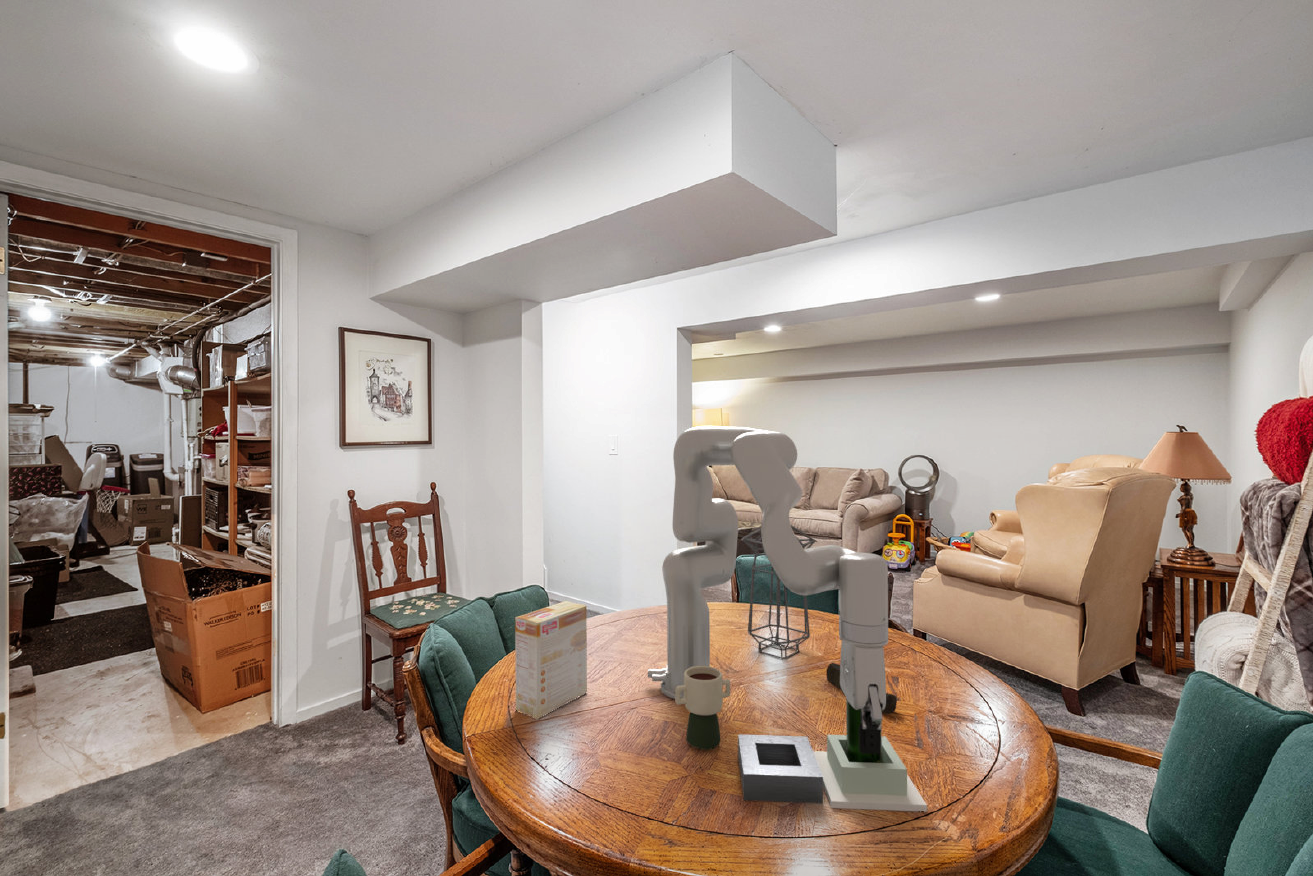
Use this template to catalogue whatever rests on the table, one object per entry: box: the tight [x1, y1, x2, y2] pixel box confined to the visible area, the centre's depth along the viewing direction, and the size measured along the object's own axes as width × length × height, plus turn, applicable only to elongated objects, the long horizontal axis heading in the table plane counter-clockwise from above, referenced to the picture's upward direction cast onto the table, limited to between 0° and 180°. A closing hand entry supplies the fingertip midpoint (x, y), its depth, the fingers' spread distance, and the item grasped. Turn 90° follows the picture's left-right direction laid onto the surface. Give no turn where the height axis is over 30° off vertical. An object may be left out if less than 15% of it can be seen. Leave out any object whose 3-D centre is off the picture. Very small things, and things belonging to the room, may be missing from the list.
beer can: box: [845, 697, 883, 763], centre depth 92 cm, size 5×5×12 cm
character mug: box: [674, 666, 731, 751], centre depth 103 cm, size 11×7×13 cm, turn 108°
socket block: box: [737, 733, 824, 804], centre depth 92 cm, size 12×12×4 cm
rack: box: [813, 734, 928, 813], centre depth 91 cm, size 14×14×5 cm
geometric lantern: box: [741, 524, 818, 660], centre depth 150 cm, size 16×16×35 cm
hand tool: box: [825, 662, 898, 715], centre depth 123 cm, size 19×4×5 cm, turn 22°
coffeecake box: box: [514, 600, 588, 720], centre depth 120 cm, size 15×7×20 cm, turn 145°
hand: (863, 741), depth 92 cm, fingers closed on beer can, 5 cm apart
